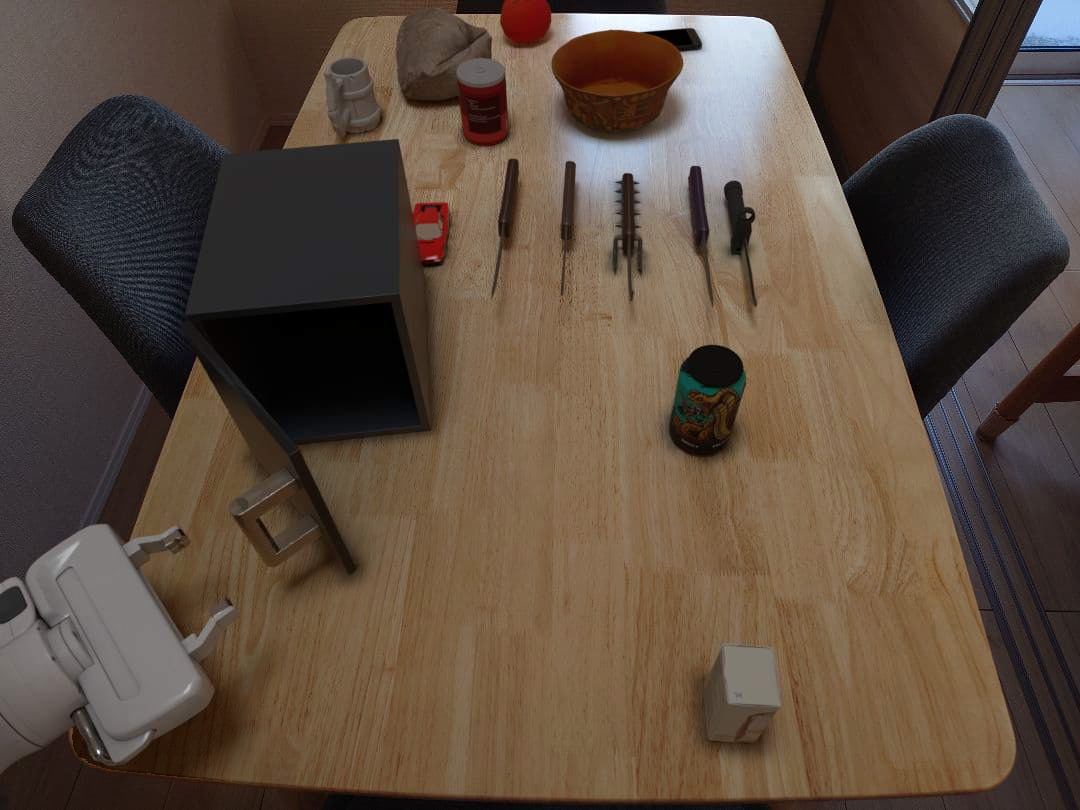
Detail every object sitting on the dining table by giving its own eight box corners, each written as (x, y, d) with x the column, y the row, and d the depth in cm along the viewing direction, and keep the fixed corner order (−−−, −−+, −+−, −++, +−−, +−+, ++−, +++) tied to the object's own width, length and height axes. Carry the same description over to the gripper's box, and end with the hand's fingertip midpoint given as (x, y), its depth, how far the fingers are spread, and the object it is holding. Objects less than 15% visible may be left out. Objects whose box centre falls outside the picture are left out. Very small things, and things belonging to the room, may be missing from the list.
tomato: (560, 33, 147) (560, -12, 141) (531, 56, 142) (529, 10, 135) (520, 22, 150) (518, -23, 144) (490, 44, 145) (487, -2, 139)
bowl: (526, 122, 129) (524, 65, 121) (602, 70, 138) (604, 15, 130) (626, 167, 120) (631, 109, 112) (699, 109, 130) (708, 52, 122)
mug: (389, 112, 131) (376, 44, 122) (360, 151, 124) (343, 81, 115) (349, 106, 133) (333, 38, 123) (318, 144, 126) (298, 75, 116)
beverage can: (693, 467, 85) (710, 401, 76) (656, 424, 89) (667, 356, 79) (742, 440, 87) (764, 372, 78) (704, 399, 91) (720, 330, 81)
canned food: (489, 115, 130) (484, 52, 121) (518, 135, 126) (515, 71, 118) (453, 132, 127) (445, 68, 118) (482, 152, 123) (476, 89, 115)
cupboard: (430, 430, 89) (399, 293, 72) (258, 448, 88) (184, 314, 71) (425, 280, 105) (398, 138, 88) (279, 294, 104) (223, 153, 86)
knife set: (486, 328, 97) (483, 281, 91) (509, 183, 119) (508, 138, 113) (761, 341, 96) (775, 295, 90) (734, 192, 117) (744, 147, 111)
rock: (514, 27, 132) (445, -27, 122) (492, 114, 130) (420, 67, 120) (462, 53, 144) (396, 7, 134) (441, 134, 142) (372, 92, 132)
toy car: (446, 266, 106) (443, 249, 104) (409, 268, 107) (405, 250, 104) (450, 213, 114) (448, 195, 111) (416, 214, 114) (413, 196, 111)
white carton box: (756, 744, 67) (782, 711, 59) (706, 741, 67) (725, 707, 59) (750, 685, 70) (774, 645, 62) (702, 682, 70) (720, 642, 62)
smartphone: (617, 36, 146) (617, 32, 145) (693, 30, 147) (694, 26, 146) (624, 56, 141) (624, 51, 140) (703, 49, 142) (703, 45, 141)
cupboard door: (298, 611, 75) (221, 499, 58) (206, 485, 85) (117, 356, 68) (356, 568, 78) (299, 449, 61) (261, 451, 88) (188, 318, 70)
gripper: (81, 769, 54) (255, 641, 59) (-13, 573, 63) (145, 478, 69) (122, 788, 59) (279, 668, 64) (29, 603, 68) (173, 512, 74)
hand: (208, 568), depth 67 cm, fingers open, 8 cm apart
